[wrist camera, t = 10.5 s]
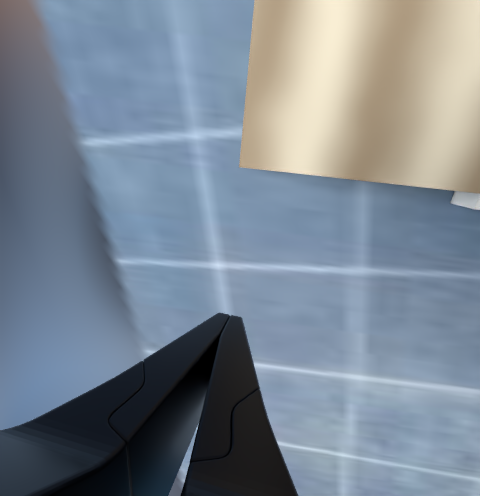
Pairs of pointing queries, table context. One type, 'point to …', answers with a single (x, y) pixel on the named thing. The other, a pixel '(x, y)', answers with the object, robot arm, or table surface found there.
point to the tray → (466, 199)
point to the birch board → (366, 91)
